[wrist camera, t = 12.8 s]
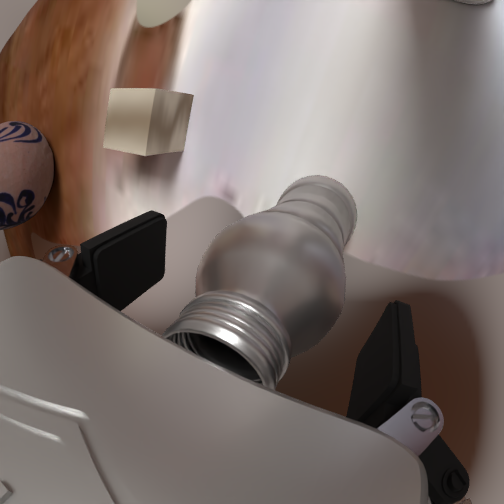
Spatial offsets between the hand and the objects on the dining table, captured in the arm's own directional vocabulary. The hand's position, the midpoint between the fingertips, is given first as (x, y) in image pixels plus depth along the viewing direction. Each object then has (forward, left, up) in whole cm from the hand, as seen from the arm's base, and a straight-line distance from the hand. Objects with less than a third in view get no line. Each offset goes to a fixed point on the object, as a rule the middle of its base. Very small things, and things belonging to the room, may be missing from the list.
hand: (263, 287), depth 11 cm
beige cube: (-4, -18, -16) cm, 24 cm away
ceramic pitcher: (+4, -47, -16) cm, 50 cm away
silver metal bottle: (+1, 0, -16) cm, 16 cm away
